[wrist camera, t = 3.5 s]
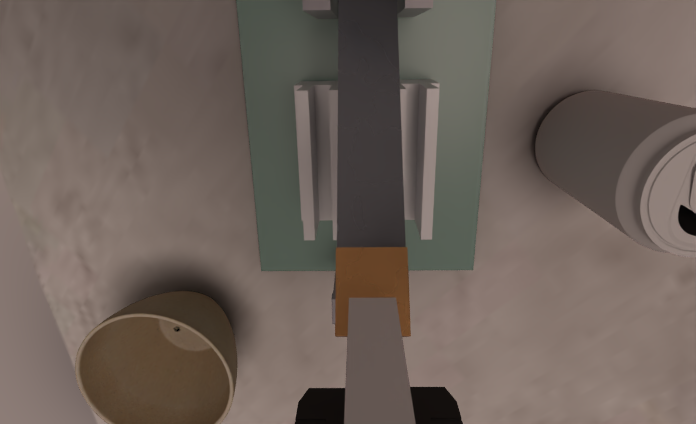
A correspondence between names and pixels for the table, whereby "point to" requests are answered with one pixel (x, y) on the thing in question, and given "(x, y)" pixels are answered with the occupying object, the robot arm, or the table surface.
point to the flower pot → (160, 362)
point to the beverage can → (626, 164)
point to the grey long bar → (369, 162)
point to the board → (322, 127)
